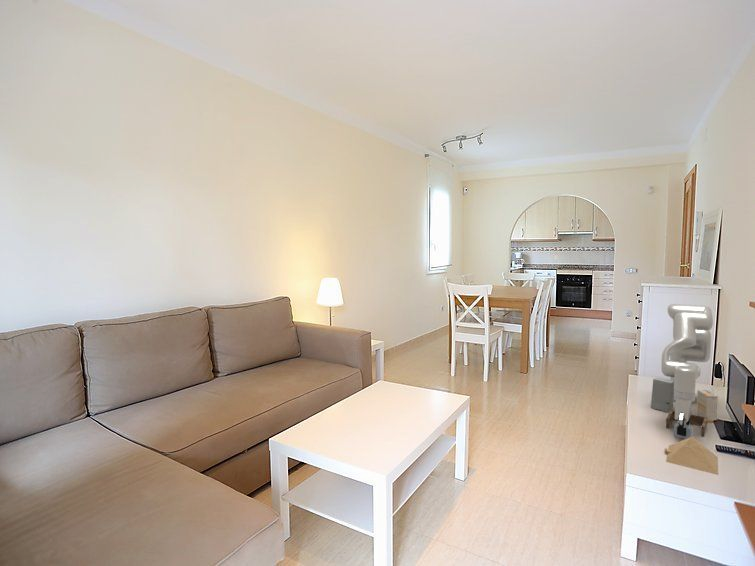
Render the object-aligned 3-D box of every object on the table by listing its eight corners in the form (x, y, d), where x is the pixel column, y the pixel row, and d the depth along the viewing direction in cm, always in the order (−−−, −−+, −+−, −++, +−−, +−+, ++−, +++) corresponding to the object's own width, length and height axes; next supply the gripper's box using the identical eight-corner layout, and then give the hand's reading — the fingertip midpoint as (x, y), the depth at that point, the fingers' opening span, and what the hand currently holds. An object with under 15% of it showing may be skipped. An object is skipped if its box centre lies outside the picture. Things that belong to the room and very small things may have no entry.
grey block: (675, 432, 185) (675, 422, 184) (691, 436, 180) (692, 426, 180) (673, 436, 181) (674, 425, 181) (690, 440, 177) (691, 429, 177)
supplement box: (717, 422, 193) (718, 396, 192) (706, 422, 194) (707, 395, 193) (707, 415, 201) (708, 389, 200) (696, 415, 202) (697, 389, 201)
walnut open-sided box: (670, 418, 199) (670, 410, 198) (707, 426, 189) (707, 417, 189) (665, 428, 189) (666, 418, 189) (704, 437, 180) (704, 427, 179)
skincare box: (650, 408, 212) (651, 378, 210) (655, 404, 216) (656, 375, 215) (669, 413, 205) (670, 382, 204) (674, 409, 209) (675, 379, 208)
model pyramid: (666, 445, 174) (666, 423, 173) (718, 457, 163) (719, 434, 162) (662, 462, 161) (663, 438, 161) (719, 476, 150) (720, 451, 150)
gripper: (676, 387, 188) (675, 422, 189) (670, 398, 175) (669, 435, 177) (697, 390, 183) (695, 427, 184) (692, 402, 170) (691, 441, 172)
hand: (683, 431), depth 181 cm, fingers open, 9 cm apart
